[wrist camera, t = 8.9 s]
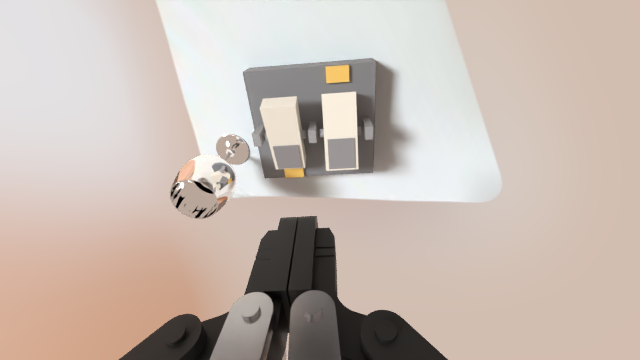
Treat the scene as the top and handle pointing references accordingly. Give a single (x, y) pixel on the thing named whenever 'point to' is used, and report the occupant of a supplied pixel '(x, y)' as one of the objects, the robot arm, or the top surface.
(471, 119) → the top surface
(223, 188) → the wineglass
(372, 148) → the switch unit
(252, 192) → the top surface
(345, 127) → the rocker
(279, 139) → the block
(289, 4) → the top surface
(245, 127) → the top surface
